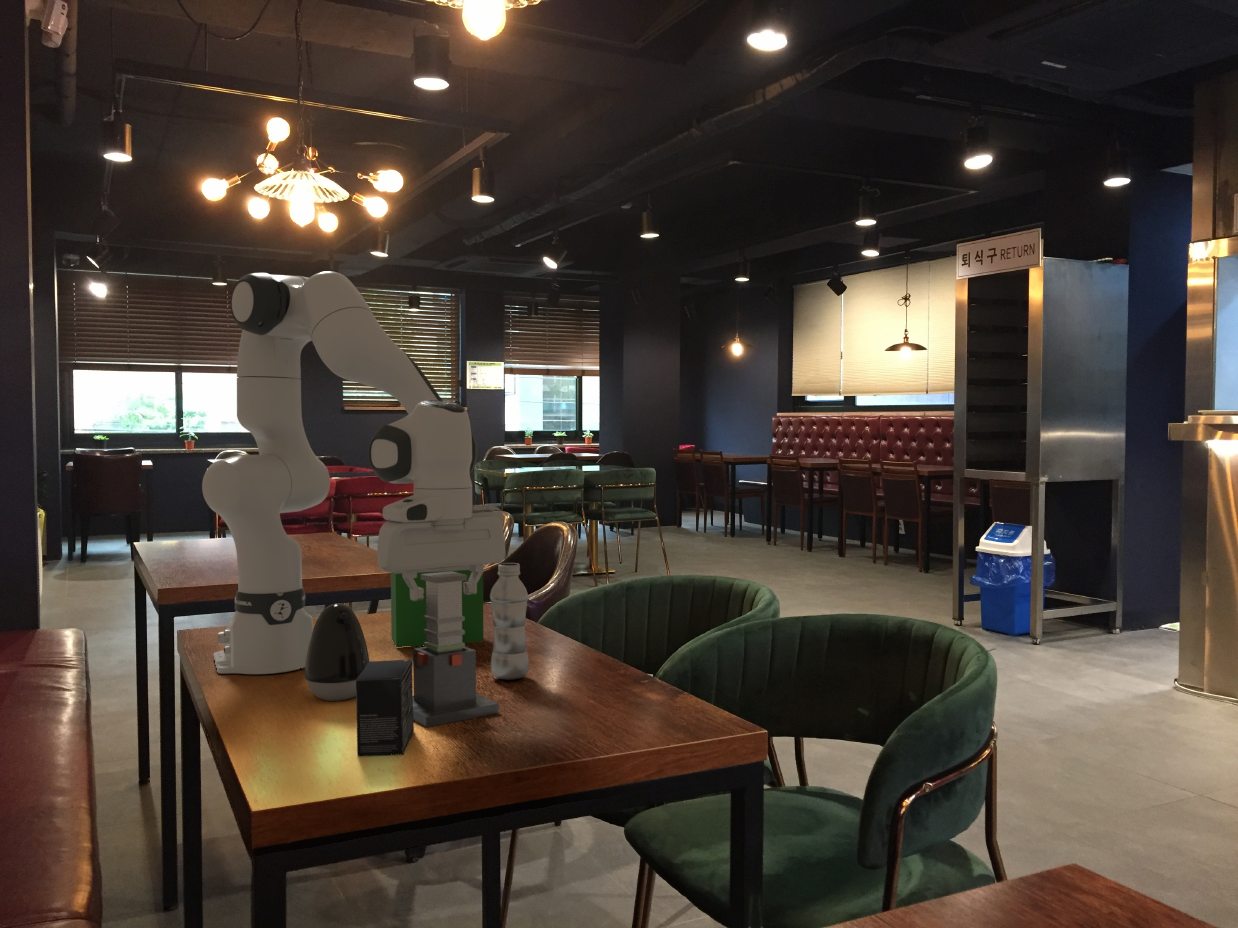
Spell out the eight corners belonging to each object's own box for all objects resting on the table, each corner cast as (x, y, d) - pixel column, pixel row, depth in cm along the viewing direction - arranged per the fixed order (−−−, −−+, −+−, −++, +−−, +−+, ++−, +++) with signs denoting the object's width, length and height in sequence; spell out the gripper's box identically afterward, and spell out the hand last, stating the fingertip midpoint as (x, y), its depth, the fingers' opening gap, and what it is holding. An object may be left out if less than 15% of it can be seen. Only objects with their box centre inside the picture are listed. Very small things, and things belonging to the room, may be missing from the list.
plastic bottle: (523, 684, 163) (522, 567, 163) (485, 682, 165) (484, 566, 164) (533, 675, 170) (533, 562, 169) (497, 673, 171) (496, 561, 170)
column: (421, 669, 148) (420, 574, 147) (452, 665, 151) (451, 571, 150) (436, 676, 144) (435, 577, 143) (467, 671, 147) (467, 574, 146)
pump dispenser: (311, 708, 149) (310, 611, 148) (300, 693, 158) (299, 601, 158) (377, 700, 154) (376, 605, 153) (362, 685, 163) (361, 596, 162)
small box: (368, 732, 137) (367, 659, 137) (414, 731, 137) (414, 658, 137) (354, 757, 126) (353, 677, 126) (404, 755, 127) (403, 676, 127)
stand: (391, 708, 149) (391, 647, 148) (461, 696, 156) (461, 637, 156) (426, 727, 139) (425, 662, 139) (498, 712, 146) (498, 650, 146)
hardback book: (475, 634, 205) (475, 522, 204) (483, 641, 198) (482, 525, 197) (391, 641, 199) (390, 525, 198) (396, 648, 192) (395, 528, 191)
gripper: (492, 502, 155) (493, 587, 156) (372, 508, 143) (373, 600, 143) (512, 504, 150) (513, 592, 151) (389, 511, 138) (390, 606, 138)
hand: (443, 596), depth 147 cm, fingers open, 8 cm apart
